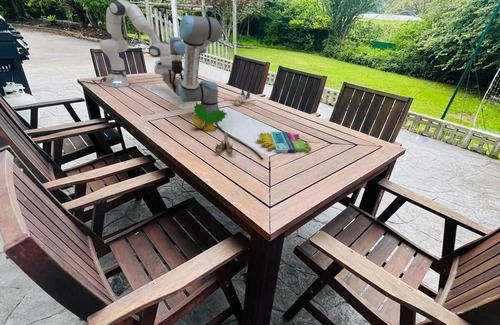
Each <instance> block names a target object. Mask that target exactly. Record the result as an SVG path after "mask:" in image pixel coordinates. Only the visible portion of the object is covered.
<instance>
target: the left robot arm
mask: <svg viewBox="0 0 500 325" xmlns="http://www.w3.org/2000/svg"><path fill="white" fill-rule="evenodd" d="M123 17H128V18H129V19H130V21H131V23H132V25H133V27H134V28H135V29H136V30H137V31H138V32H140V33H143V34H145V35H147V36H148V37H149V39H150V40H151V42H152V43H153V44H152V45H150V46H149V47H148V54H149V56H150V57H152V58H160V59H159V60H156V61H154V74H155V75H160V76H161V78H162V80H163V79H165V78H164V77H163V76H162V75H163V74H169V72H168V69H171V68H172V62H171V61H172V60H171V49H170V42H168V41H163V40H161V39H160V38H159V36H158V35H157V32H155V30H154V28H153V27H152V26H151V24H150V23H149V22H148V20H147V18H146V17H145V14H144V13H143V11H142V10H141V8H140V7H139V5H138V4H136V3H133V2H131V1H129V0H111V1H110V2H109V4H108V7H107V8H106V13H105V23H106V24H105V25H106V31H107V33H108V34H110V36H111V38H108V39H107V38H106V39H103V40H100V42H99V48H100V51H102V53H104V54H105V55H106V56H107V58H108V60H109V63H110V68H111V69H109V72H110V74H109V75H107V76H103V77H102V78H101V79H100V81H99V82H90V81H86V80H81V81H79V83H80V84H81V83H87V84H91V85H92V84H93V85H101V84H102V82H103V86H106V87H107V86H108V87H112V88H123V87H128V86H130V82H129V80H128V76H127V69H126V66H125V60H124V59H123V58H121V57H120V56H119V53H124V52H126V51H128V50H129V43H128V42H127V41H126V40H125V39H124V36H123V32H122V18H123ZM173 73H174V72H173V71H172V72H171V74H172V75H173Z"/></svg>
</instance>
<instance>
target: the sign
mask: <svg viewBox="0 0 500 325" xmlns="http://www.w3.org/2000/svg"><path fill="white" fill-rule="evenodd" d="M299 136H300V135H299V134H298V133H296V134H294V133H291V132H287V131H270V132H264V133H263V132H260V133H259V139H258V138H257V139H256V143H257V144H261V148H263V147H264V148H265V149H267V151H268V152H271V151H272V150H273V149H275V152H276V153H283V154H285V153H287V154H288V153H290V154H293V153H296V152H298V153H301V152H305V153H310V151H311V150H312V149H311V148H312V146H309V142H304V141H303V139H302V138H299Z"/></svg>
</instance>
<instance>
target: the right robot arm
mask: <svg viewBox="0 0 500 325" xmlns="http://www.w3.org/2000/svg"><path fill="white" fill-rule="evenodd" d="M222 35H223V28H222V25H221V23H220V22H219V21H218V20H217V19H216V18H214V17H212V16H200V15H192V14H191V15H184V16H182V17H181V19H180V22H179V36H170V37H169V45H170V49H171V62H172V68H171V69H168V72H169V83H170V84H172V88H173V89H174V91H173V93H174V94H175V93H176V90H175V84H174V81H175V77H177V75H179V77H180V78H181V80H182V81H181V84H179V85H178V93H179V96H178V97H179V99H180V101H181V102H182V103H196V102H197V103H198V102H200V104H201V106H204V109H206V112H208V113H211V112H212V110H214V111H216V110H217V109H219V111H221V110H220V108H219V102H218V99H219V98H218V97H219V88H218V84H217V83H216V82H215V81H211V80H205V79H204V80H197V79H199V77H198V76H199V67H200V59H201V58H200V57H201V54H202V55H203V54H206V53H207V49H208V47H209V46H210V45H211V44H213V43H216V42H218V41H219V40H220V39H221V38H222ZM183 55H184V60H183ZM182 60H183V61H184V63H183V61H182ZM172 71H173V72H174V73H173V79H172V82H171V72H172ZM182 72H183V73H182ZM182 75H184V79H183V76H182ZM199 81H200V82H199ZM208 113H207V115H208ZM215 125H216V126H217V128H218V129H219V131H221V132H222V133H223V134H224V133H225V132H226V131H224V130H223V129H222V128H221V127H220V126H219V124H218V123H215ZM228 137H229V138H231V139H233V140H234V141H236V142H238V143H240V144H241V145H243V146H245V147H247V148H248V149H250V151H252V152H254V154H256V155H257V156H258V157H259V158H260V159H261V160H264V157H262V155H261V154H260V153H259V152H258V151H256V150H255V149H254V148H252V147H251V146H249V145H248V144H246V143H244V142H243V141H241V140H239V139H238V138H235V137H233V136H232V135H230V134H229V133H228Z"/></svg>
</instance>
